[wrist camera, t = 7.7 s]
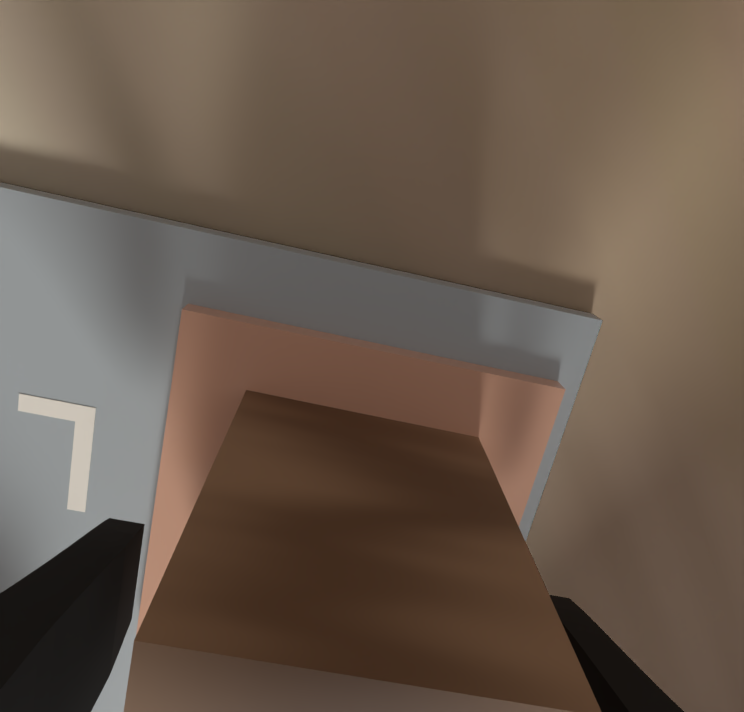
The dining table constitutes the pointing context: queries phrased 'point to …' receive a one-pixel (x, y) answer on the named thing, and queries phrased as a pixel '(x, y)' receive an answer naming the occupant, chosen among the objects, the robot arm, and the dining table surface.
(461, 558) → the walnut block
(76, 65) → the dining table surface
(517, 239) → the dining table surface
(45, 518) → the board
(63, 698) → the robot arm
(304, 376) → the terracotta pad
